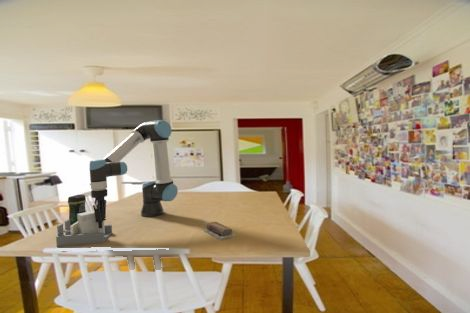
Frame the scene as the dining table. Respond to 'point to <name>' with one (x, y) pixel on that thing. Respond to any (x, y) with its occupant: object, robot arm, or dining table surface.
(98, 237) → the grey slotted tray
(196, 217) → the dining table surface
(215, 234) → the packaged product
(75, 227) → the grey open holder
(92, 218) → the small box
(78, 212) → the coffee jar
